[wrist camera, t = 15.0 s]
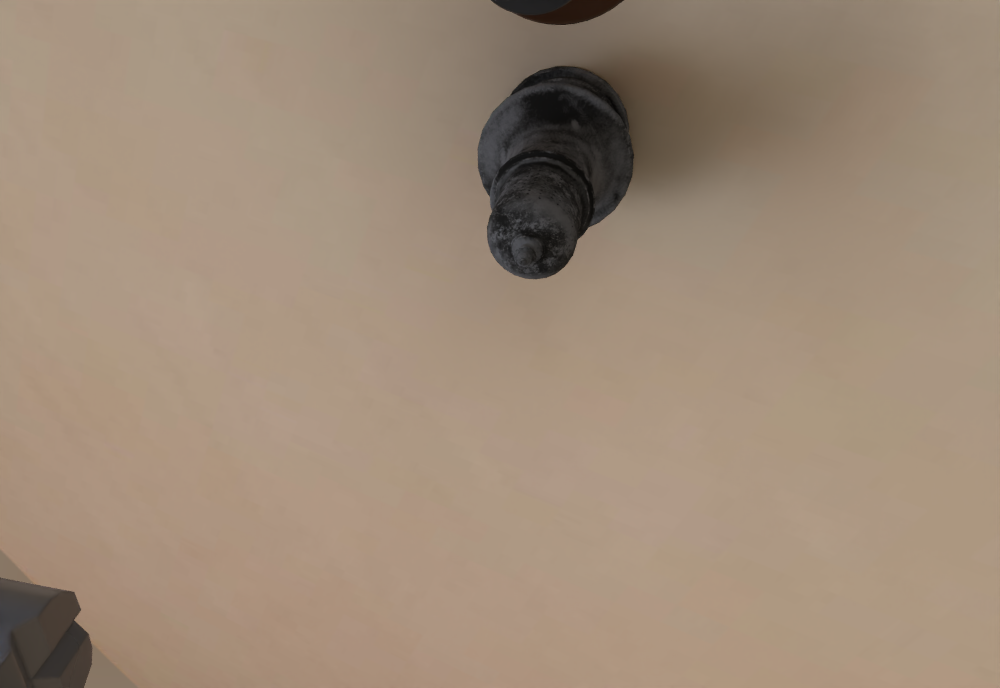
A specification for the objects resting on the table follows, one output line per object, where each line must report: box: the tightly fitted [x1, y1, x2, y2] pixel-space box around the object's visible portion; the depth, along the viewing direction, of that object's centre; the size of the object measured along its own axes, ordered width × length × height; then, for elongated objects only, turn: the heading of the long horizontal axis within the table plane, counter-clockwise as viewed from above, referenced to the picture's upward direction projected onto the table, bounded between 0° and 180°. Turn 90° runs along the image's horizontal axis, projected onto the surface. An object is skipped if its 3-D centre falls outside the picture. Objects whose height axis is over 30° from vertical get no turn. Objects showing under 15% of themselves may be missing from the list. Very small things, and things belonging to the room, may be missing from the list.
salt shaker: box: [478, 67, 634, 279], centre depth 30 cm, size 6×6×12 cm
